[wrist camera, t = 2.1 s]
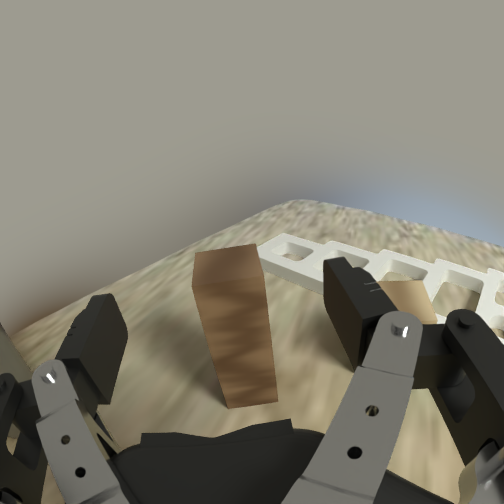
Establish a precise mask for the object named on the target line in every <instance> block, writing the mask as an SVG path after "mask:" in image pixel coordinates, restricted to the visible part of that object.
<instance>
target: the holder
mask: <svg viewBox="0 0 504 504" xmlns="http://www.w3.org/2000/svg"><path fill="white" fill-rule="evenodd" d="M257 251H258V255H259V259H260V262H261V266H262V270H264V271H267V272H269V273H271V274H274V275H276V276H278V277H281V278H283V279H286V280H288V281H290V282H293V283H295V284H297V285H300V286H302V287H305V288H307V289H309V290H312V291H314V292H317V293H319V294H321V295H323V271H322V270H323V261H324V260H325V259H331V258H337V257H342V256H344V257H345V258H346V260H347V261H348V262H349V264H350V265H351V266H353V267H360V268H362V269H364V270H366V271H367V272H369V273H370V274H371V275H372V276H373V278H374V279H375V280H376V281H380V280H381V278H382V277H383V276H384V275H385V274H386V273H387V272H390V271H391V272H395V273H398V274H401V275H404V276H407V277H410V278H413V279H416V280H422V281H423V284H424V286H425V289H426V291H427V293H428V296H429V299H430V301H431V303H432V301H433V299H434V297H435V296H436V294H437V292H438V290H439V288H440V286H441V284H442V283H443V282H450V283H452V284H455V285H458V286H461V287H464V288H467V289H470V290H473V291H476V292H478V293H479V294H480V299H479V302H478V305H477V309H476V312H475V313H477V314H478V315H479V316H480V317H481V318H482V319H483V320H484V321H485V322H486V324H487V325H488V326H489V327H490V328H497V329H501V330H503V331H504V306H502V305H498V304H497V303H496V302H495V295H496V292H502V293H504V273H503V272H500V271H497V270H494V269H491V268H488V272H487V273H486V274H485V273H482V272H479V271H476V270H473V269H470V268H467V267H464V266H461V265H458V264H455V263H451V262H448V261H445V260H442V259H436V261H435V262H434V263H433V264H432V263H428V262H425V261H422V260H419V259H416V258H412V257H409V256H406V255H403V254H399V253H396V252H393V251H390V250H386V249H383V250H381V251H380V252H379V253H378V254H375V253H372V252H369V251H365V250H362V249H359V248H356V247H352V246H349V245H346V244H342V243H339V242H336V241H329V242H327V243H326V244H324V245H321V244H318V243H315V242H312V241H309V240H305V239H302V238H299V237H296V236H292V235H289V234H286V233H282V234H280V235H278V236H276V237H274V238H273V239H271V240H269V241H267V242H265V243H264V244H262V245H260V246H258V247H257ZM286 253H291V254H294V255H297V256H299V257H302V258H304V259H303V260H301V261H293V260H290V259H288V258H285V257H282V255H283V254H286ZM435 314H436V313H435ZM436 317H437V320H438V321H437V324H445V321H446V317H444V316H441V315H438V314H436ZM497 337H498V336H497ZM498 338H499V337H498ZM499 340H500V341H501V342H502V343H503V345H504V339H502V338H499Z"/></svg>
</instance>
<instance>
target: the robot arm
mask: <svg viewBox="0 0 504 504" xmlns="http://www.w3.org/2000/svg"><path fill="white" fill-rule="evenodd" d="M323 297H324V304H325V307H326V310H327V313H328V315H329V317H330V319H331V321H332V323H333V325H334V327H335V329H336V331H337V334H338V336H339V338H340V340H341V342H342V344H343V346H344V348H345V351H346V353H347V355H348V357H349V359H350V361H351V364H352V366H353V368H354V370H355V373H354V375H353V377H352V380H351V382H350V384H349V386H348V389H347V391H346V393H345V395H344V397H343V399H342V402H341V404H340V406H339V408H338V410H337V412H336V414H335V416H334V418H333V420H332V422H331V424H330V426H329V428H328V430H327V432H326V434H323V433H320V432H317V431H312V430H307V429H293V427H292V423H291V419H285V420H280V421H274V422H268V423H262V424H255V425H251V426H248V427H245V428H243V429H240V430H237V431H234V432H231V433H228V434H225V435H222V436H219V437H215V438H209V437H201V436H195V435H188V434H182V433H177V432H171V433H142V435H141V443H140V444H137V445H134V446H131V447H129V448H127V449H125V450H123V451H122V450H121V449H120V447H119V446H118V444H117V443H116V441H115V439H114V438H113V436H112V434H111V433H110V431H109V429H108V428H107V426H106V424H105V423H104V421H103V419H102V417H101V415H100V414H99V413H98V411H97V406H98V404H109V405H110V402H111V398H112V394H113V390H114V387H115V383H116V379H117V375H118V372H119V368H120V364H121V361H122V357H123V354H124V350H125V347H126V343H127V340H128V331H127V327H126V324H125V321H124V319H123V317H122V315H121V312H120V310H119V308H118V305H117V303H116V301H115V298H114V296H113V295H112V294H110V293H109V294H102V295H95V296H92V298H91V299H90V301H89V303H88V305H87V307H86V309H84V310H83V311H82V312H81V313H80V314H79V315H78V316H77V317H76V318H75V319H74V321H73V323H72V325H71V329H69V331H68V333H67V336H66V337H65V339H64V341H63V343H62V345H61V347H60V349H59V351H58V353H57V355H56V357H55V359H54V360H49V361H46V362H44V363H43V364H41V365H40V366H39V367H38V368H37V369H36V370H35V371H34V373H32V372H31V370H30V368H29V367H28V366H27V364H26V363H25V361H24V360H23V358H22V357H21V355H20V354H19V352H18V351H17V349H16V348H15V346H14V345H13V343H12V342H11V340H10V338H9V337H8V335H7V333H6V332H5V330H4V328H3V327H2V325H1V323H0V504H41V498H42V491H43V485H44V480H45V475H46V469H47V465H48V463H49V465H50V468H51V470H52V473H53V475H54V478H55V480H56V483H57V485H58V487H59V490H60V492H61V494H62V496H63V499H64V501H65V504H454V503H452V502H450V501H448V500H446V499H444V498H442V497H440V496H438V495H436V494H433V493H431V492H429V491H427V490H425V489H423V488H421V487H419V486H417V485H415V484H413V483H411V482H410V481H408V480H406V479H404V478H402V477H400V476H398V475H396V474H395V473H393V472H391V471H389V470H387V469H386V468H387V466H388V463H389V460H390V458H391V455H392V452H393V449H394V446H395V444H396V441H397V438H398V435H399V431H400V428H401V425H402V422H403V419H404V415H405V412H406V408H407V405H408V401H409V397H410V393H411V390H412V389H425V388H428V389H429V391H430V393H431V395H432V397H433V399H434V401H435V403H436V405H437V407H438V409H439V411H440V413H441V415H442V417H443V419H444V421H445V423H446V425H447V427H448V429H449V432H450V434H451V436H452V438H453V440H454V442H455V445H456V447H457V449H458V451H459V454H460V456H461V458H462V461H463V463H464V465H465V468H464V469H463V470H462V472H461V474H460V477H459V482H458V483H459V491H460V500H459V504H504V345H503V343H502V342H501V341H500V340H499V338H498V337H497V336H496V335H495V333H494V332H493V331H492V330H491V328H490V327H489V326H488V325H487V324H486V322H485V321H484V320H483V319H482V318H481V317H480V316H479V315H478V314H477V313H475V312H473V311H470V310H466V309H458V310H454V311H452V312H450V313H449V314H448V316H447V318H446V321H445V324H422V323H421V321H420V320H419V319H418V318H417V317H416V316H415V315H413V314H411V313H408V312H404V311H399V310H398V309H397V307H396V306H395V305H394V303H393V302H392V301H391V300H390V298H389V297H388V296H387V294H386V293H385V292H384V290H383V289H381V287H380V285H379V284H378V283H376V280H375V279H374V278H373V276H372V275H371V274H370V273H369V272H367V271H366V270H364V269H362V268H360V267H356V268H352V266H351V265H350V264H349V262H348V261H347V260H346V258H345V257H344V256H342V257H337V258H331V259H325V260H324V261H323ZM7 436H8V437H11V438H18V440H17V444H16V447H15V451H14V454H13V455H12V454H11V453H10V452H9V451H8V449H7V445H6V440H7Z"/></svg>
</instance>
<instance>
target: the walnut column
mask: <svg viewBox="0 0 504 504" xmlns="http://www.w3.org/2000/svg"><path fill="white" fill-rule="evenodd" d="M192 290H193V293H194V297H195V301H196V304H197V308H198V312H199V315H200V319H201V322H202V326H203V329H204V333H205V336H206V340H207V343H208V346H209V350H210V353H211V356H212V360H213V363H214V366H215V369H216V373H217V376H218V379H219V382H220V385H221V388H222V391H223V395H224V398H225V401H226V404H227V407H228V409H231V408H239V407H246V406H253V405H260V404H266V403H272V402H278V395H277V386H276V377H275V368H274V359H273V350H272V341H271V332H270V324H269V315H268V306H267V298H266V289H265V281H264V274H263V270H262V266H261V262H260V259H259V255H258V251H257V247H256V244H249V245H243V246H236V247H230V248H224V249H217V250H211V251H204V252H198V253H195V261H194V270H193V279H192Z"/></svg>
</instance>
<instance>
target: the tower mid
mask: <svg viewBox="0 0 504 504" xmlns="http://www.w3.org/2000/svg"><path fill="white" fill-rule="evenodd" d="M376 283H378V284H379V285H380V287H381V289H383V290H384V292H385V293H386V294H387V296H388V297H389V298H390V300H391V301H392V302H393V303H394V305H395V306H396V307H397V309H398V310H399V311H404V312H408V313H411V314H413V315H415V316H416V317H417V318H418V319H419V320H420V321H421V323H422V324H437V321H438V320H437V317H436V314H435V312H434V309H433V306H432V304H431V301H430V299H429V296H428V293H427V291H426V289H425V286H424V284H423V281H422V280H418V281H376Z"/></svg>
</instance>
